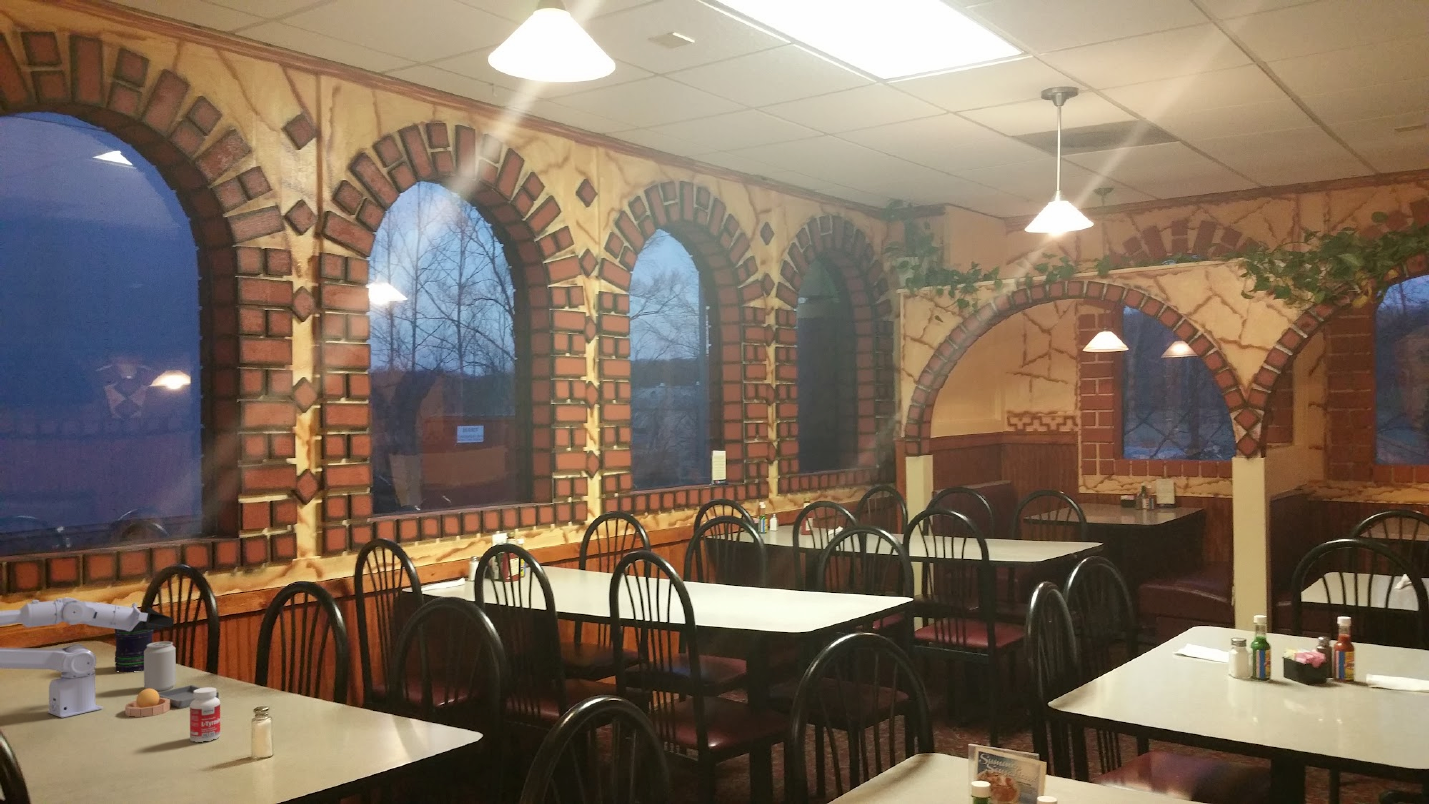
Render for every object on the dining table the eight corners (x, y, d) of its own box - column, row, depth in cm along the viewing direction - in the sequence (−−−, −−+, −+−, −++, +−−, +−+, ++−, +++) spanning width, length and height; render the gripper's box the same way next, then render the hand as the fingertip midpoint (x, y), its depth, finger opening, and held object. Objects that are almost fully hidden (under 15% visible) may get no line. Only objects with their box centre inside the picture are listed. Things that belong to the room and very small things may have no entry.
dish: (137, 719, 257) (137, 710, 257) (118, 712, 262) (118, 704, 262) (177, 709, 264) (177, 701, 264) (157, 703, 270) (157, 695, 270)
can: (166, 692, 281) (166, 646, 281) (138, 692, 281) (137, 646, 281) (181, 684, 288) (181, 640, 288) (153, 684, 288) (153, 640, 288)
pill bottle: (201, 744, 237) (201, 694, 237) (184, 740, 240) (183, 691, 240) (226, 737, 242) (226, 688, 242) (209, 733, 245) (208, 684, 245)
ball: (142, 713, 260) (142, 692, 260) (132, 710, 263) (132, 689, 263) (163, 708, 264) (163, 688, 264) (153, 705, 267) (153, 685, 267)
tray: (179, 708, 265) (179, 701, 265) (153, 700, 273) (153, 693, 273) (218, 699, 273) (218, 692, 273) (191, 691, 281) (191, 685, 281)
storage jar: (122, 665, 310) (121, 613, 310) (158, 663, 312) (158, 612, 312) (109, 673, 301) (108, 620, 301) (147, 672, 302) (146, 619, 302)
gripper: (123, 597, 266) (180, 605, 274) (106, 603, 276) (162, 611, 284) (117, 626, 263) (174, 633, 272) (99, 630, 273) (155, 638, 282)
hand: (167, 624), depth 278 cm, fingers open, 7 cm apart
